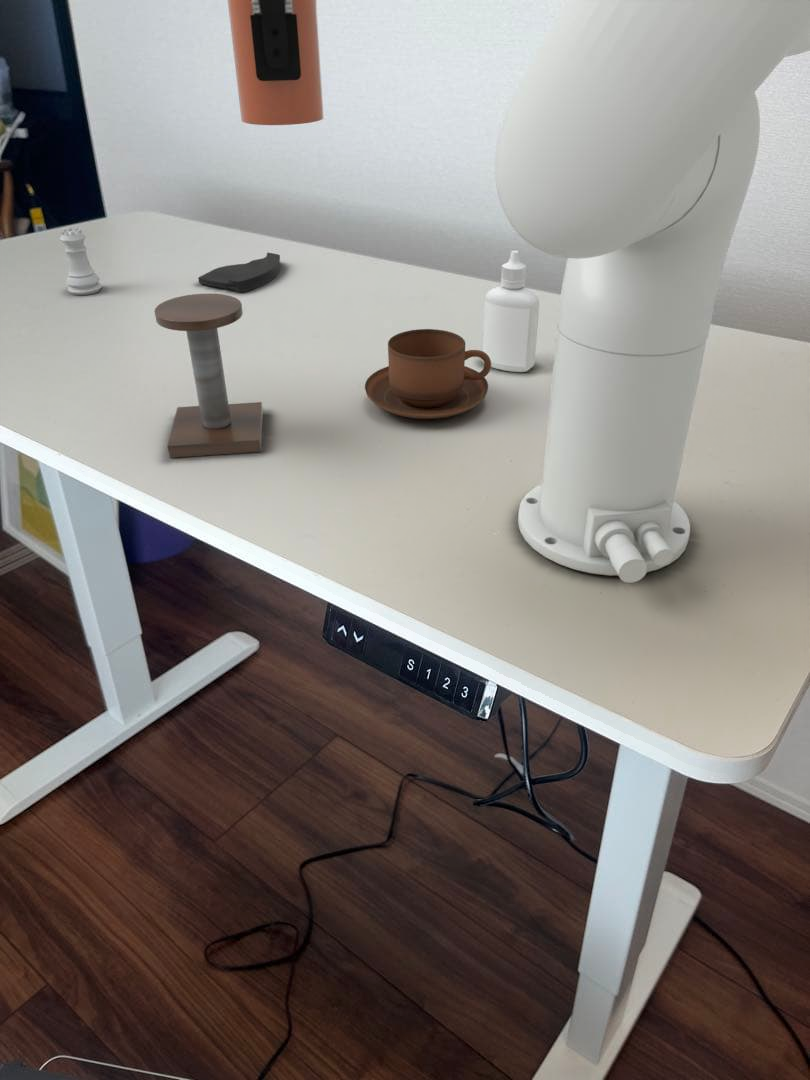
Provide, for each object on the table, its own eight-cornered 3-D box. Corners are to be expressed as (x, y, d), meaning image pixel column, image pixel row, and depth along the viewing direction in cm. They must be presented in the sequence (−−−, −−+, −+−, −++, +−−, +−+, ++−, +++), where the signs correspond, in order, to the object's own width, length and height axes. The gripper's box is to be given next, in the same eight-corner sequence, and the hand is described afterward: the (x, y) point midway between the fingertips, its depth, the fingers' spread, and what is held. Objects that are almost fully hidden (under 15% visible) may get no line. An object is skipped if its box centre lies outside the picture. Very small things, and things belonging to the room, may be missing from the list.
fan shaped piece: (304, 269, 119) (303, 257, 118) (241, 294, 109) (239, 282, 108) (261, 260, 122) (260, 249, 121) (195, 284, 113) (194, 272, 112)
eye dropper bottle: (506, 378, 85) (514, 261, 78) (476, 360, 89) (480, 248, 82) (540, 369, 87) (550, 254, 80) (508, 352, 91) (515, 241, 84)
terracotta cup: (325, 123, 62) (317, -6, 57) (239, 126, 61) (224, -4, 56) (322, 112, 67) (314, -7, 62) (243, 115, 66) (229, -5, 62)
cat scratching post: (261, 452, 73) (244, 320, 66) (169, 458, 72) (142, 325, 65) (263, 413, 79) (248, 289, 72) (179, 418, 79) (156, 294, 72)
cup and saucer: (457, 371, 87) (458, 314, 84) (508, 417, 78) (512, 355, 74) (349, 388, 84) (346, 330, 80) (390, 439, 74) (388, 375, 71)
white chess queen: (68, 287, 113) (53, 227, 108) (102, 284, 114) (88, 224, 109) (67, 297, 109) (52, 235, 105) (102, 294, 110) (88, 232, 106)
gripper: (201, -220, 59) (234, 67, 69) (176, -284, 45) (222, 89, 55) (306, -219, 60) (323, 64, 70) (314, -282, 45) (334, 85, 55)
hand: (279, 72), depth 62 cm, fingers closed on terracotta cup, 6 cm apart
